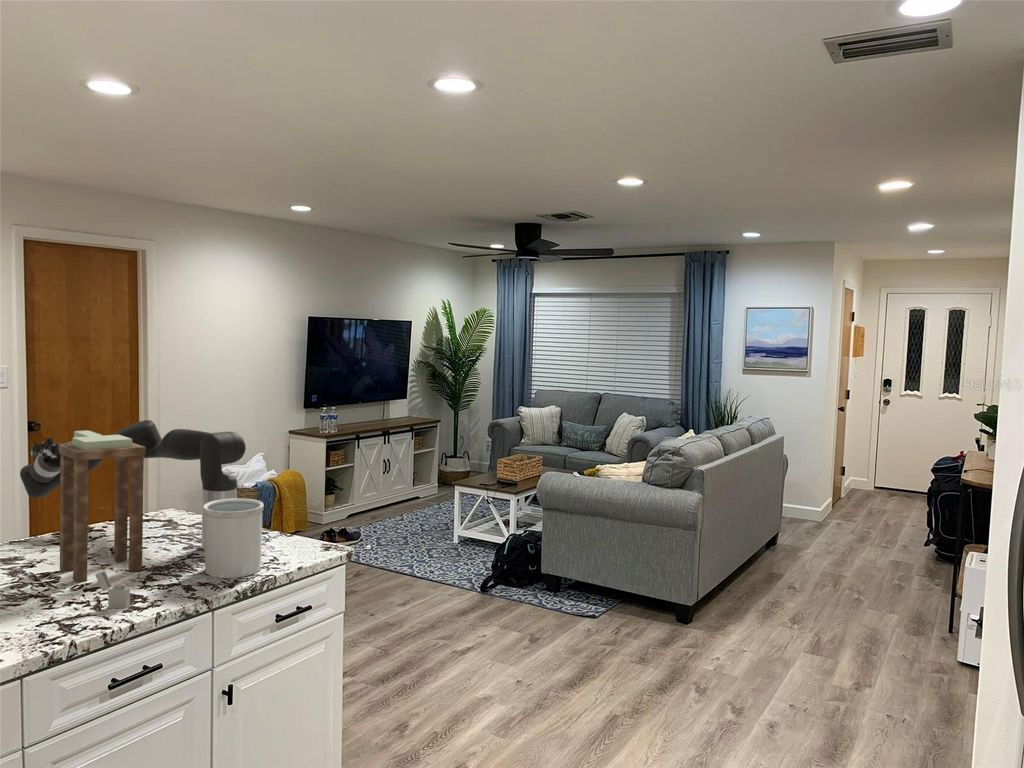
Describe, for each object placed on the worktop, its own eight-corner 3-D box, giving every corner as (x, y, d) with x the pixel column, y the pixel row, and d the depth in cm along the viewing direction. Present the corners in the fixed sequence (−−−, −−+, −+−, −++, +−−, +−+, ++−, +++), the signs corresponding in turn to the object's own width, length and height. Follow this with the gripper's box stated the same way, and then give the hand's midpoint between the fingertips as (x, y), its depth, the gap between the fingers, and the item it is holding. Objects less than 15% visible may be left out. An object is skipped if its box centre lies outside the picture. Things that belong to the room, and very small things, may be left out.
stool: (124, 558, 206) (125, 440, 203) (143, 570, 197) (145, 447, 195) (58, 569, 194) (58, 445, 192) (75, 583, 185) (76, 452, 183)
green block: (103, 436, 208) (103, 429, 208) (132, 446, 194) (132, 439, 194) (58, 439, 200) (58, 432, 200) (85, 450, 186) (85, 442, 186)
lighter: (130, 606, 172) (130, 571, 172) (126, 609, 170) (126, 573, 170) (99, 604, 172) (99, 569, 172) (94, 607, 170) (94, 572, 170)
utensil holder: (226, 583, 190) (227, 514, 189) (189, 571, 198) (191, 504, 197) (274, 569, 202) (275, 504, 201) (238, 558, 210) (239, 495, 209)
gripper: (21, 450, 216) (37, 428, 206) (77, 446, 226) (94, 425, 216) (25, 475, 214) (41, 454, 204) (81, 470, 224) (99, 449, 214)
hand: (68, 439), depth 210 cm, fingers open, 8 cm apart
